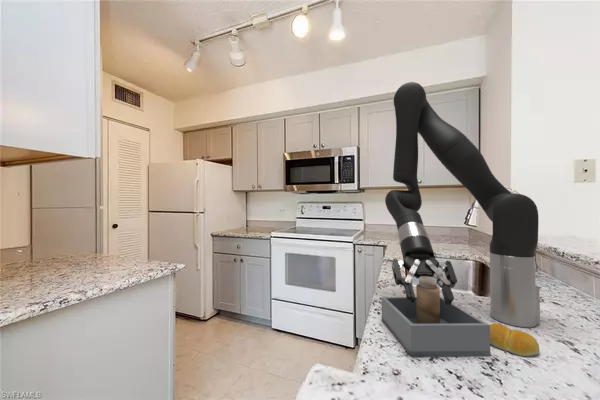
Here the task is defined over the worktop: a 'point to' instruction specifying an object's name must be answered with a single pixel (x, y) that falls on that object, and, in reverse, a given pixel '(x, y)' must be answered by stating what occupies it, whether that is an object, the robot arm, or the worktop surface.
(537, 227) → the robot arm
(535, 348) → the bread roll
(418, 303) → the pepper mill
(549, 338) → the worktop surface
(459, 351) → the bin
